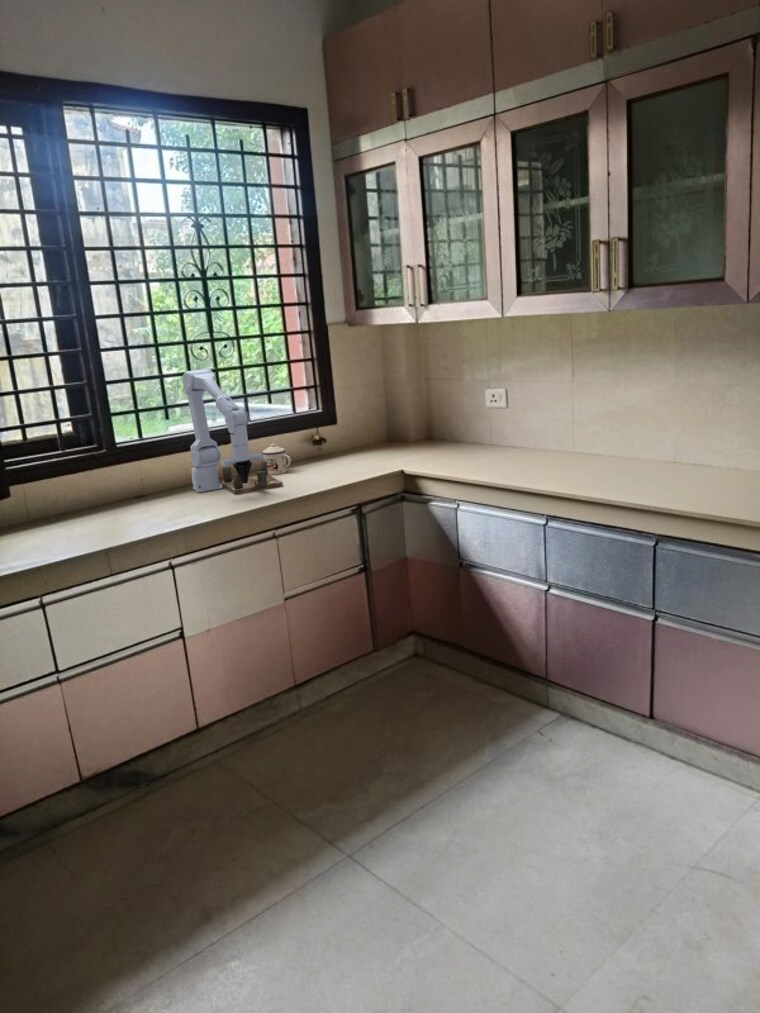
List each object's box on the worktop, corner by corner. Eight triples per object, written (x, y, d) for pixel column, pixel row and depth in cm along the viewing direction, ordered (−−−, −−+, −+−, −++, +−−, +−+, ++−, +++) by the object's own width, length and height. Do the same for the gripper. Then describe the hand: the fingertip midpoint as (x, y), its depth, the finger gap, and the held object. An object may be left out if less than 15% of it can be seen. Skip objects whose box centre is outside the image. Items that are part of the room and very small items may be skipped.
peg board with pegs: (235, 494, 277) (232, 475, 275) (221, 485, 293) (219, 467, 291) (283, 486, 284) (281, 467, 282) (268, 478, 300) (266, 460, 299)
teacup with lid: (260, 474, 308) (256, 445, 305) (273, 469, 316) (270, 441, 313) (285, 475, 303) (282, 446, 300) (298, 470, 310) (295, 442, 307)
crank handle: (251, 484, 282) (250, 469, 281) (260, 482, 283) (259, 467, 282) (260, 489, 274) (258, 473, 272) (269, 487, 275) (267, 472, 274)
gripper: (225, 449, 261) (230, 488, 265) (264, 442, 269) (268, 480, 273) (217, 447, 267) (221, 485, 270) (254, 440, 275) (259, 477, 278)
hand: (244, 482), depth 272 cm, fingers closed
